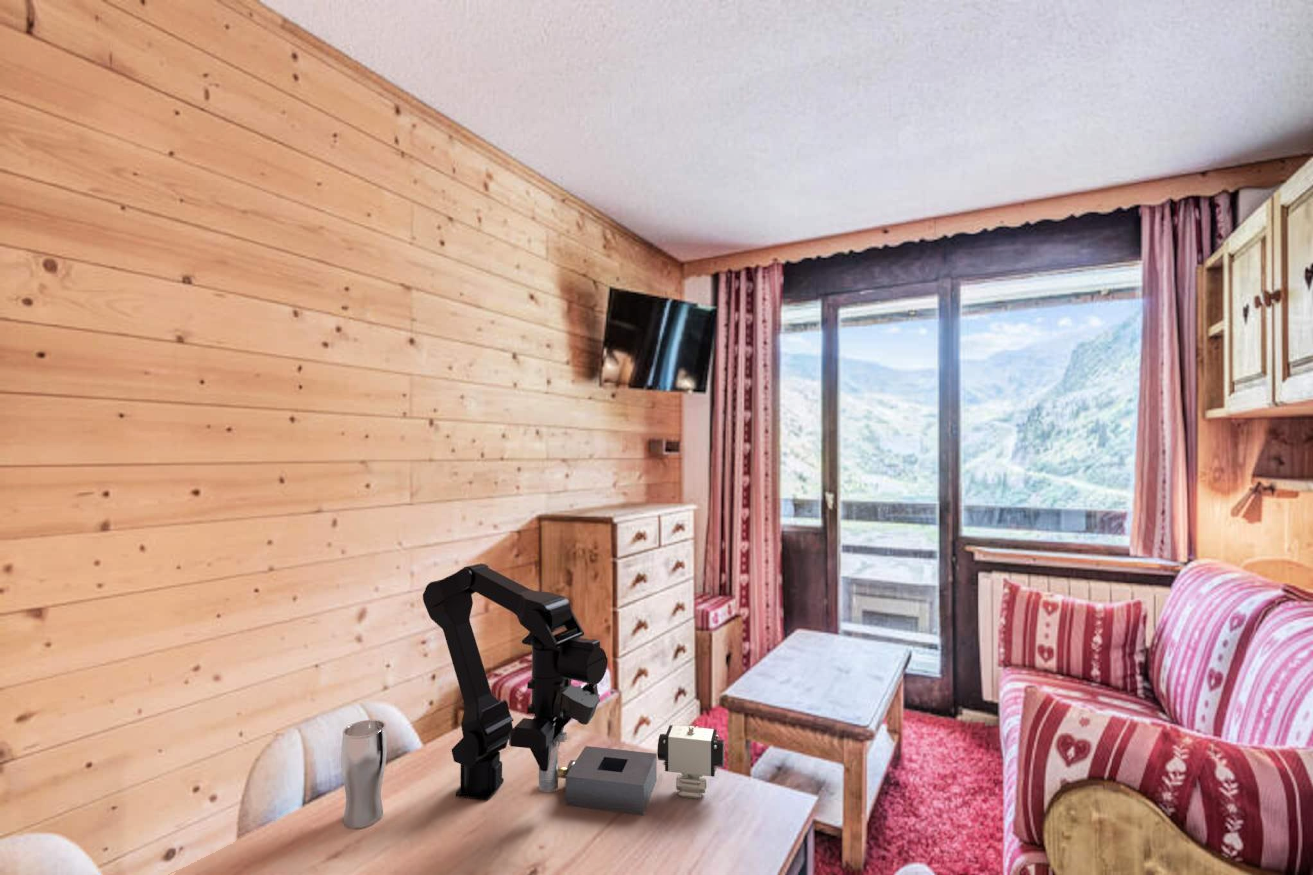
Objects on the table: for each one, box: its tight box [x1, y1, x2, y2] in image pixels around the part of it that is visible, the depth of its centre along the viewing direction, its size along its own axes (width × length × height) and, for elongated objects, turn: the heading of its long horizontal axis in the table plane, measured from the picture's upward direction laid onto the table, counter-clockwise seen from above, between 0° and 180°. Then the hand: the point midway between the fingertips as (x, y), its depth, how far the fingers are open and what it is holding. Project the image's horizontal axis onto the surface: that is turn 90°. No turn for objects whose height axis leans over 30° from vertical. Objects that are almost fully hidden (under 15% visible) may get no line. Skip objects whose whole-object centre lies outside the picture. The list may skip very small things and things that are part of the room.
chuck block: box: [558, 745, 658, 816], centre depth 110 cm, size 20×11×5 cm, turn 78°
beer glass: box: [340, 719, 388, 830], centre depth 102 cm, size 7×7×15 cm
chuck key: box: [538, 731, 568, 793], centre depth 102 cm, size 6×3×9 cm, turn 78°
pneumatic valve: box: [656, 724, 726, 800], centre depth 110 cm, size 6×12×12 cm, turn 78°
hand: (548, 765), depth 102 cm, fingers closed on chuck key, 3 cm apart
